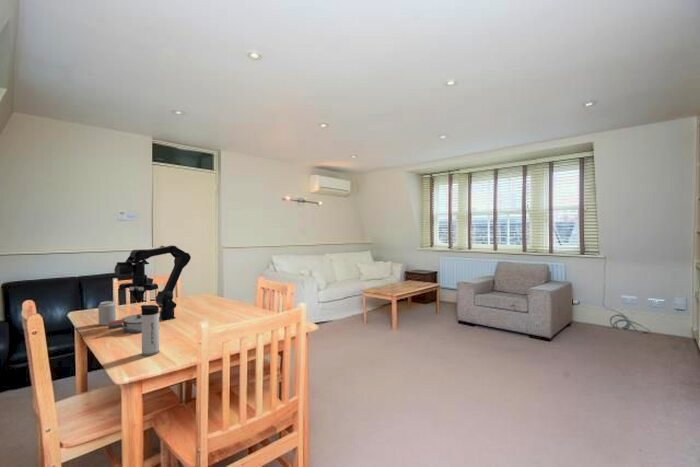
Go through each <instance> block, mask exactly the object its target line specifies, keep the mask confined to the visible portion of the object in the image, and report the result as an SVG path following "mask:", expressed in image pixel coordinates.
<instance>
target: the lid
mask: <svg viewBox="0 0 700 467" xmlns="http://www.w3.org/2000/svg"><path fill="white" fill-rule="evenodd" d="M141 314H142V313H138V314H137V313H136V314H131V315H128V316H125V317H122V319H121V318H120V319H118V320H117V319H116V320H115V321H109V322H108V325H107V326H110V325H115V324H121V323H122V324H123V323H141V322H142V319H141V316H142V315H141Z"/></svg>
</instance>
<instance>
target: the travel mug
mask: <svg viewBox="0 0 700 467" xmlns="http://www.w3.org/2000/svg"><path fill="white" fill-rule="evenodd" d="M140 308H141V313H140V314H141V315H142V316H141V319H142V333H141V355H142V356H144V357H151V356H155V355H157V354H159V353H160V320H159V317H160V309H159V306H158V305H157V304H156V305H155V304H142V305H141V306H140Z"/></svg>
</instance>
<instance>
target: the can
mask: <svg viewBox="0 0 700 467" xmlns="http://www.w3.org/2000/svg"><path fill="white" fill-rule="evenodd" d="M97 308H98V311H97V312H98V324H99V326H104V327H106V326H107V327H108V326H109V325H108V322H109V321H115V320H117V319H116V317H117V316H116V313H117V312H116V308H117V307H116V303H115V301H114V300H107V301H102V302H100V303H99V305H97Z"/></svg>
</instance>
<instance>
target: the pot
mask: <svg viewBox="0 0 700 467" xmlns="http://www.w3.org/2000/svg"><path fill="white" fill-rule="evenodd" d="M159 321H163V320H162V317H160V316H159ZM107 328H108V329H107V330H115V329H120V328H122V332H123V333H124V334H128V335H129V334H131V335H134V334H142V322H141V323H121V324H115V325H107Z"/></svg>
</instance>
